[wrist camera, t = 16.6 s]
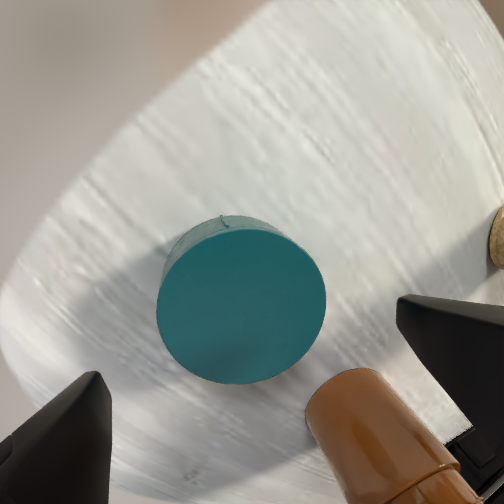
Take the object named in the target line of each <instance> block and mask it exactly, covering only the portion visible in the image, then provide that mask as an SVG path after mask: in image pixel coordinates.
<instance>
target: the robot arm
mask: <svg viewBox="0 0 504 504" xmlns="http://www.w3.org/2000/svg"><path fill="white" fill-rule="evenodd" d="M396 324H397V327H398V329H399V331H400V332H401V334H402V335H403V336H404V338H405V339H406V341H407V342H408V344H409V345H410V347H411V348H412V350H413V351H414V353H415V354H416V356H417V357H418V358H419V360H420V361H421V362H422V364H423V365H424V366H425V367H426V369H427V370H428V371H429V372H430V373H431V375H432V376H433V377H434V378H435V379H436V380H437V382H438V383H439V384H440V385H441V386H442V388H443V389H444V390H445V391H446V393H447V394H448V395H449V396H450V397H451V399H452V400H453V401H454V402H455V404H456V405H457V406H458V407H459V409H460V410H461V411H462V412H463V414H464V415H465V416H466V417H467V419H468V420H469V421H470V422H471V424H472V425H473V426H474V427H473V428H471V429H470V430H468V431H467V432H465V433H464V434H462V435H461V436H459V437H457V438H456V439H454V440H453V441H451V442H450V443H448V444H446V445H445V447H446V449H447V450H448V451H449V452H450V453H451V454H452V455H453V456H454V458H455V459H456V460H457V461H458V462H459V463H460V466H461V469H460V472H459V474H460V475H461V476H462V477H463V479H464V480H465V481H466V482H467V483H468V484H469V486H470V487H471V488H472V489H473V490H474V492H475V493H476V494H477V495H478V496H479V497H480V496H482V497H483V498H484V500H485V499H486V498H488V497H489V496H490V495H491V494H492V493H493V492H494V491H495V490H496V489H497V488H498V487H499V486H500V485H501V484H502V483H503V482H504V306H497V305H489V304H481V303H473V302H465V301H457V300H450V299H442V298H435V297H427V296H420V295H413V294H407V295H405V296H402V297H399V298H398V300H397V307H396ZM111 452H112V398H111V394H110V392H109V390H108V388H107V386H106V384H105V382H104V379H103V377H102V375H101V374H100V373H99V372H98V371H91V372H85V373H84V374H83V375H81V376H80V377H79V378H78V379H77V380H75V381H74V382H73V383H72V384H71V385H69V386H68V387H67V388H66V389H64V390H63V391H62V392H61V393H60V394H58V395H57V396H56V397H55V398H54V399H52V400H51V401H50V402H49V403H48V404H46V405H45V406H44V407H43V408H42V409H40V410H39V411H38V412H37V413H36V414H34V415H33V416H32V417H31V418H30V419H28V420H27V421H26V422H25V423H24V424H22V425H21V426H20V427H19V428H18V429H17V430H15V431H14V432H13V433H12V435H9V436H8V437H7V438H6V439H4V440H3V441H2V442H1V443H0V504H108V499H109V497H108V496H109V479H110V464H111ZM484 504H504V483H503V484H502V485H501V486H500V487H499V488H498V489H497V490H496V491H495V492H494V493H493V494H492V495H491V496H490V497H489V498H488V499H486V500H485V501H484Z"/></svg>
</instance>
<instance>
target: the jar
mask: <svg viewBox="0 0 504 504" xmlns="http://www.w3.org/2000/svg"><path fill="white" fill-rule="evenodd" d="M305 418H306V422H307V425H308V427H309V429H310V431H311V433H312V435H313V437H314V439H315V441H316V443H317V445H318V447H319V449H320V451H321V453H322V455H323V457H324V459H325V461H326V463H327V465H328V466H329V468H330V470H331V472H332V474H333V476H334V478H335V480H336V482H337V484H338V486H339V488H340V490H341V492H342V494H343V496H344V498H345V500H346V502H347V504H484V502H483V501H484V498H483V497H482V496H480V497H479V496H478V495H477V494H476V493H475V492H474V490H473V489H472V488H471V487H470V486H469V484H468V483H467V482H466V481H465V480H464V479H463V477H462V476H461V475H460V474H459V472H460V469H461V466H460V463H459V462H458V461H457V460H456V459H455V458H454V456H453V455H452V454H451V453H450V452H449V451H448V450H447V449H446V447H445V446H444V445H443V444H442V443H441V442H440V441H439V440H438V438H437V437H436V436H435V435H434V434H433V433H432V432H431V430H430V429H429V428H428V427H427V426H426V425H425V424H424V423H423V421H422V420H421V419H420V418H419V417H418V416H417V415H416V414H415V413H414V411H413V410H412V409H411V408H410V407H409V406H408V405H407V404H406V402H405V401H404V400H403V399H402V398H401V397H400V396H399V395H398V394H397V392H396V391H395V390H394V389H393V388H392V387H391V386H390V385H389V384H388V382H387V381H386V380H385V379H384V378H383V377H382V376H381V375H380V374H379V373H378V372H377V371H375V370H372V369H368V368H357V369H352V370H348V371H345V372H343V373H340V374H339V375H337V376H335V377H333V378H331V379H330V380H329V381H327V382H326V383H325V384H323V385H322V386H321V387H320V388H319V389H318V390H317V391H316V392H315V394H314V395H313V396H312V398H311V399H310V401H309V403H308V405H307V408H306V413H305Z"/></svg>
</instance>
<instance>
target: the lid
mask: <svg viewBox="0 0 504 504" xmlns="http://www.w3.org/2000/svg"><path fill="white" fill-rule="evenodd" d="M325 310H326V292H325V285H324V282H323V278H322V275H321V273H320V271H319V269H318V267H317V265H316V264H315V262H314V261H313V259H312V258H311V257H310V256H309V254H308V253H307V252H306V251H305V250H304V249H302V248H301V247H300V246H299V245H298V244H296V243H295V242H294V241H292V240H291V239H290V238H288V237H287V236H286V235H284V234H283V233H281V232H280V231H279V230H277V229H276V228H274V227H273V226H271V225H269V224H268V223H265V222H263V221H261V220H258V219H255V218H251V217H245V216H224V217H223V215H220V217H219V218H215V219H211V220H209V221H206V222H204V223H201V224H200V225H198V226H196V227H194V228H193V229H191V230H190V231H189V232H187V233H186V234H185V235H184V236H183V237H182V238H181V239H180V240H179V241H178V242H177V244H176V245H175V246H174V248H173V249H172V251H171V252H170V254H169V256H168V258H167V261H166V263H165V266H164V270H163V274H162V279H161V284H160V289H159V294H158V299H157V309H156V314H157V324H158V328H159V333H160V335H161V338H162V340H163V342H164V344H165V346H166V348H167V349H168V351H169V352H170V354H171V355H172V356H173V357H174V359H175V360H176V361H177V362H179V363H180V364H181V365H182V366H183V367H184V368H186V369H187V370H188V371H190V372H192V373H193V374H195V375H197V376H199V377H201V378H204V379H206V380H209V381H213V382H217V383H223V384H248V383H254V382H259V381H262V380H265V379H268V378H271V377H273V376H275V375H277V374H279V373H281V372H283V371H285V370H286V369H288V368H289V367H291V366H292V365H293V364H295V363H296V362H297V361H298V360H299V359H300V358H301V357H302V356H303V355H304V354H305V353H306V352H307V351H308V350H309V348H310V347H311V345H312V344H313V343H314V341H315V339H316V337H317V336H318V334H319V331H320V329H321V327H322V324H323V320H324V316H325Z"/></svg>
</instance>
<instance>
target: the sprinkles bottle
mask: <svg viewBox="0 0 504 504" xmlns="http://www.w3.org/2000/svg"><path fill="white" fill-rule="evenodd" d="M490 256H491V259H492V261H493V263H494V264H495V265H496V266H497V267H498V268H500V269H502V270H504V206H503V207H502V208H501V209H500V210H499V212H498V213H497V216H496V218H495V220H494V222H493V226H492V231H491V234H490Z"/></svg>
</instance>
